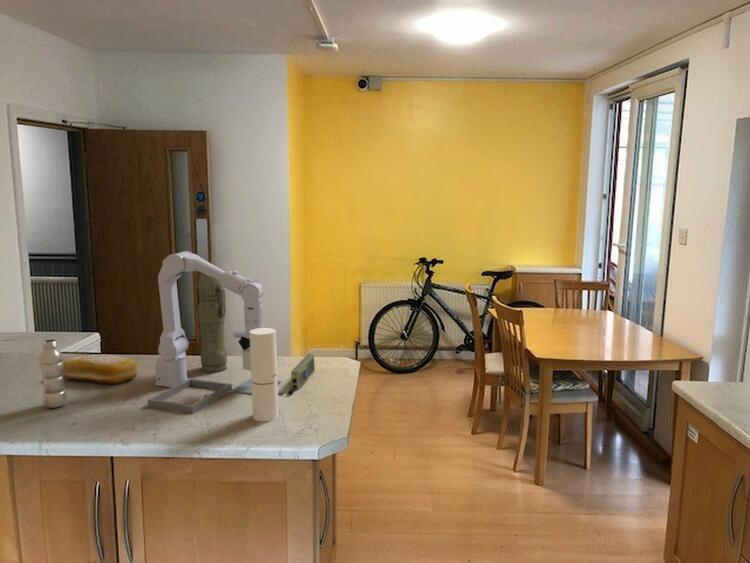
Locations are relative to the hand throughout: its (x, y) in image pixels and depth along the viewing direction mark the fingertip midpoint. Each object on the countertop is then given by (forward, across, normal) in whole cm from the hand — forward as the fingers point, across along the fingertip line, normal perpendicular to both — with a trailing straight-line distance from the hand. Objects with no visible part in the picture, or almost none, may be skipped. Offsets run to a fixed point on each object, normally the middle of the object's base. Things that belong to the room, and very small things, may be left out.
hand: (255, 360), depth 183 cm
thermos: (+9, -24, +11) cm, 28 cm away
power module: (+2, 0, 0) cm, 2 cm away
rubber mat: (+9, 0, 0) cm, 9 cm away
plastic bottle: (+9, -48, -34) cm, 59 cm away
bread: (+9, -55, -10) cm, 57 cm away
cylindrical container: (+9, +15, -20) cm, 27 cm away
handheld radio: (+10, +12, +9) cm, 18 cm away
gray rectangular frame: (+9, -14, -15) cm, 22 cm away
